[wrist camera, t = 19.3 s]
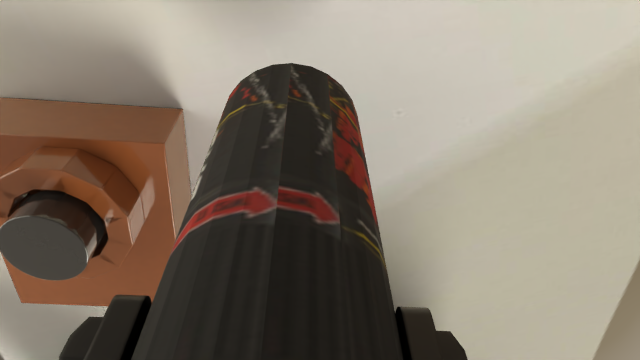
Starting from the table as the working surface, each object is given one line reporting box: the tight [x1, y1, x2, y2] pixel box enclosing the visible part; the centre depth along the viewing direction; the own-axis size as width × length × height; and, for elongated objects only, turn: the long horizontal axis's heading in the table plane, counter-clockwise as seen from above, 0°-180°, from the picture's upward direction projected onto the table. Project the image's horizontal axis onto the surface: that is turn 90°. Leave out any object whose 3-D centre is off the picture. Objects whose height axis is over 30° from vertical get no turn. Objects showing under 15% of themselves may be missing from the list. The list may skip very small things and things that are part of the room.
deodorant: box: [131, 63, 404, 360], centre depth 14 cm, size 6×6×15 cm
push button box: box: [0, 97, 191, 306], centre depth 26 cm, size 12×10×6 cm
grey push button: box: [0, 190, 104, 281], centre depth 22 cm, size 4×4×2 cm
